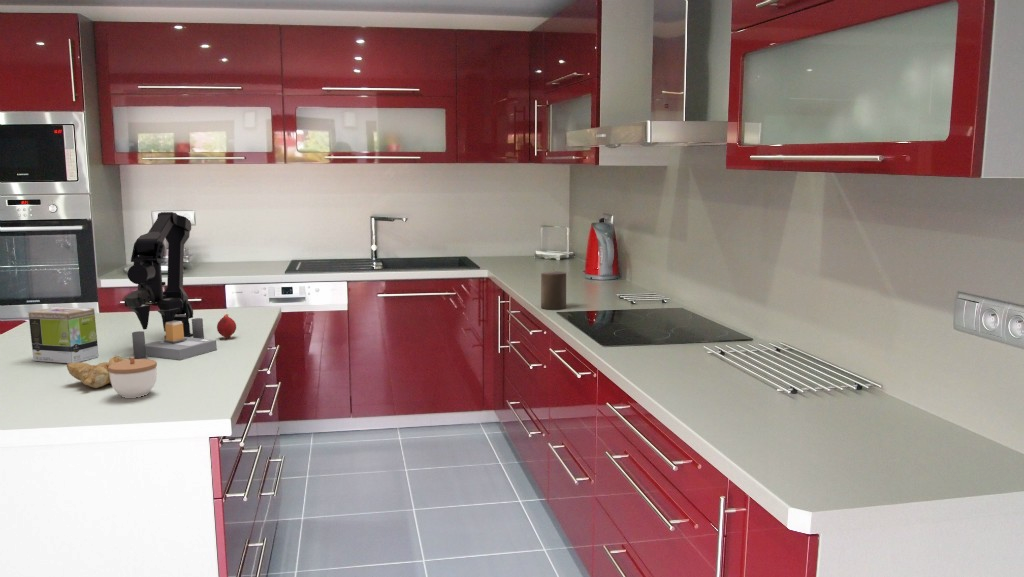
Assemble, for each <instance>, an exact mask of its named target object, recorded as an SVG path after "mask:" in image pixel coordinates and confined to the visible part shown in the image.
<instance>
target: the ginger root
mask: <svg viewBox="0 0 1024 577" xmlns="http://www.w3.org/2000/svg"><path fill="white" fill-rule="evenodd" d="M126 360H129V359H127V358H125V357H124V358H123V357H120V356H118V355H114V356H113V357H111V358H110V359H109V360H108V362H106V361H104V362H103V361H102V362H100V363H98V364H96V365H95V364H94V365H93V364H89V363H86V362H83V361H82V362H75V363H66V369H67V371H68V373H69V374H70V376H72V377H73V378H74V379H76V380H78V381H81V382H82V384H83V385H85V386H88V387H91V388H93V389H99V388H101V387H104V386H106V385H105V384H107V385H112V384H111V381H110V376H109V371H108V367H109V365H111V364H113V363H116V362H120V361H126Z"/></svg>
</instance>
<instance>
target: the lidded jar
mask: <svg viewBox="0 0 1024 577" xmlns="http://www.w3.org/2000/svg"><path fill="white" fill-rule="evenodd" d="M157 364H158V362H157V361H156V360H154V359H149V358H147V359H134V356H130V357H129V359H128V360H126V361H120V362H116V363H113V364H111V365H109V367H108V371H109V376H110V381H111V384H110V385H111V387H112V389H113V390H114V391H115V393H117V395H120V396H122V397H125V398H124V399H136V397H138V398H142V397H141V396H143V397H145V396H144V395H146V396H148V395H149V394H150V392H151V390H152V389H153V388H154V387H155V384H156V382H157V375H158V372H157V369H158V368H157V366H158V365H157ZM148 393H149V394H148ZM147 394H148V395H147ZM122 397H121V398H122Z"/></svg>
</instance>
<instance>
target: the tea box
mask: <svg viewBox="0 0 1024 577" xmlns="http://www.w3.org/2000/svg"><path fill="white" fill-rule="evenodd" d="M28 320H29V329H30V331H29V332H30V340H31V348H32V358H33V361H35V362H45V363H61V364H69V363H75V362H82V363H83V362H85V361H88V360H92V359H96V358H99V347H98V334H97V324H96V313H95V309H94V307H93V308H92V307H91V308H90V307H65V306H53V307H49V308H48V307H47V308H43V309H37V310H34V311H29V312H28Z"/></svg>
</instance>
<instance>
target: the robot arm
mask: <svg viewBox="0 0 1024 577" xmlns="http://www.w3.org/2000/svg"><path fill="white" fill-rule="evenodd" d="M191 231H192V223H191V220H190V219H188V217H186V216H184V215H179V214H177V213H176V212H174V211H163V212H162V211H160V212H159V213H158V214H157V217H156V220H155V222H154V223H153V225H152V226H151V227H150V229H149V230H148V232H147V233H144V234H141V235H139V237H137V239H136V240H135V242H134V244H133V247H132V253H131V258H130V262H131V263H133V265H132V266H130V267H129V269H128V271H127V279H128V280H129V281H130V282H132V283H133V284H136V285H137V289H135V290H134V291H131V292H130V293H128V294H127V295H125V296H124V307H127V308H128V309H129V310H130V311H132V312H133V313H135V315H136V317H137V319H138V321H139V324H140V325H141V327H142V329H143V330H147V329H148V325H149V318H150V313H151V311H150V310H151V306H155V307H156V306H157V307H158V309H159V310H157V312H158V313H159V314H160V315H161V320H162V326H163V331H164V332H165V324H166V322H169V321H174V320H175V321H182V323H183V331H184V337H191V336H192V337H193V332H192V333H191V328H190V327H191V326H190V321H189V319H194V309H193V308H192V305H191V303H190V301H189V296H188V294H187V292H185V290H184V260H185V259H184V255H185V252H184V251H185V250H184V249H185V245H186V242H187V241H188V240H189V238H190V234H191ZM165 240H166V241H167V245H168V248H167V250H168V251H167V253H168V254H167V285H166V281H163V277H162V276H163V275H162V274H163V273H162V264H161V263H162V262H163V261H162V259H163V255H164V252H165V248H166V247H165V246H166V245H164V241H165ZM164 286H166V289H165V290H164V288H163V287H164ZM164 338H166V335H164Z"/></svg>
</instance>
